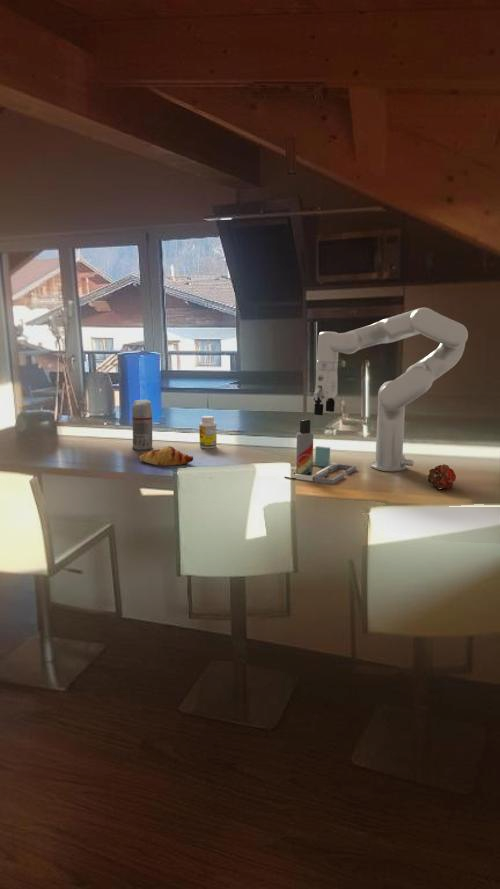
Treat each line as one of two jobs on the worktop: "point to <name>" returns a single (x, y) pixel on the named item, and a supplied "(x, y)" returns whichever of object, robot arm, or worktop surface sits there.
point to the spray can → (142, 424)
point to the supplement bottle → (207, 432)
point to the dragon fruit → (442, 476)
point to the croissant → (166, 457)
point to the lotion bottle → (304, 449)
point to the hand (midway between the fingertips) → (324, 413)
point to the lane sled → (319, 463)
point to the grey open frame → (332, 481)
